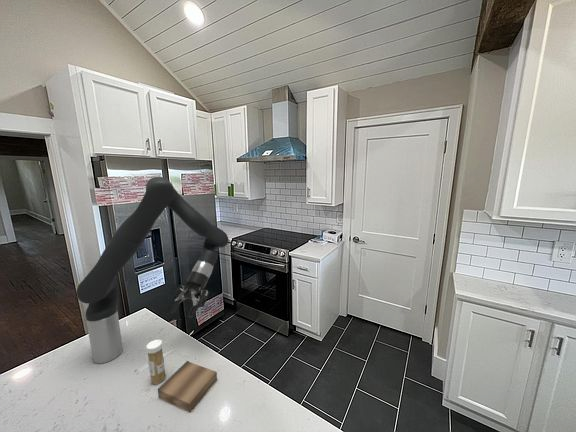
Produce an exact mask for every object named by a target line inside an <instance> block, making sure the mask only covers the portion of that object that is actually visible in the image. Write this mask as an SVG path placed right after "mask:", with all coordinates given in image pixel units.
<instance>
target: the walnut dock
mask: <svg viewBox="0 0 576 432" xmlns="http://www.w3.org/2000/svg"><path fill="white" fill-rule="evenodd" d="M217 374H218V373H217V371H215V370H213V369H210V368H207V367H204V366H202V365H199V364H196V363H194V362H192V361H191V362H190V361H189V360H186V361H185V362H184V363H183V364H182V365H181V366H180V367H178V368H177V370H176V371H174V373H172V375H171V376H169V377H168V378H167V380H165V381H164V382H163V383H162V384H161V385H160V386H159V387H158V388H157V394H158V399H161V400H162V401H165V402H166V403H169V404H171V405H173V406H176V407H178V408H180V409H182V410H184V411H186V412H188V413H192V411H193V410H194V409H195V408H196V406H197V405H198V404H199V403H200V401H201V400H202V399H203V398H204V396H205V395H206V394H207V393H208V392H209V390H210V389H211V388H212V386H213V385H214V384H215V383H216V381H218V375H217Z"/></svg>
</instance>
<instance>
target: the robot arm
mask: <svg viewBox="0 0 576 432" xmlns="http://www.w3.org/2000/svg"><path fill="white" fill-rule="evenodd" d="M167 208H169V209H170V210H171V211H172V212H173V213H175V214H176V215H177V216H178V217H179V219H181V220H182V222H184V223H185V225H186V226H187V227H188V228H190V230H192V232H195V234H196V235H198V236H199V237H203V238H205V239H204V241H203V245H202V250H201V254H200V255H199V257H198V259H197V260H196V263H195V265H194V266H193V268H192V270H191V271H190V274H189V275H188V278H187V279H186V285H182V284H178V286H177V288H176V290H175V291H174V293H173V295H172V296H171V299H172V300H173V301H174V302H173V304H172V306H171V308H170V313H173V314H176V313H177V311H178V309H179V307H180V306H181V304H180V303H182V302H184V301H185V300H187V299H188V300H191V302H192V306H191V308H190V310H189V312H188V313H187V314H188V315H187V317H188V318H191V319H193V318H194V317H195V315H196V313H197V311H198V309H199V308H204V306H205V304H206V302H207V299H208V296H209V294H210V292H209V291H208V290H207V289H205V288H206V286H207V283H208V281H209V279H210V277H211V275H212V273H213V270H214V268H215V267H214V266H215V265H216V262H217V260H218V257H219V256H218V254H217V253H218V252H216V249H217V248H218V249H219V248H224V247H226V246H227V245H228V243H229V236H228V234H227V233H226V232H225V231H224V230H223V229H221V228H219V227H217V226H216V225H214V224H212V223H211V222H210V221H209V220H208V219H207V218H205V216H203V214H201V213H200V212H199V211H197V209H195V208H194V207H193V206H191V204H189V203H188V202H187V201H186V200H185V199H184V198H183V197H182V196H181V195H180V194H179V192H178V191H177V190H176V188H175V187H174V185H173V183H172V182H171V181H170V180H169V179H167V178H165V177H162V176H155V177H152V178H150V179H149V180H148V181H147V182H146V186H145V193H144V194H143V197H142V199H141V201H140V202H139V204H138V205H137V208H136V209H135V210H134V211H133V212H132V213H131V214H130V215H129V216H128V217H127V218H126V219H125V220H124V221H123V222H122V223H121V225H119V227H117V230H116V231H115V233H114V234H113V235H112V237H111V239H110V241H109V242H108V244H107V245H106V247H105V248H104V249H103V251H102V254H100V256H99V259H98V261H97V262H96V264H95V265H94V267H92V268H91V270H90V271H89V273H88V274H87V275H86V276H85V277H84V278H83V279H82V281H80V283H79V284H78V286H77V288H76V297H77V299H78V300H79V301H80V302H81V303H84V304H88V306H87V308H86V310H85V320H86V326H87V332H88V339H89V344H90V349H91V350H90V351H91V356H92V361H93V363H95V364H100V365H101V364H105V363H108V362H111V361H113V360H115V359H116V358H118V357H119V356H120V355H121V354H122V352H123V351H124V347H123V341H122V340H123V339H122V334H121V325H120V319H119V313H118V303H119V296H118V294H119V293H118V283H117V279H116V276H117V274H119V272H120V271H121V270H122V269H123V267H124V266H125V265H126V264H127V263H128V262H129V261H130V260H131V259H132V257H134V256H135V254H136V253H137V252H138V250H139V249H140V248H141V246H142V245H143V243H144V241H145V240H146V238H147V237H148V235H149V233H150V232H151V230H152V228H153V227H154V226H155V225H154V224H155V223H156V221H157V220H158V219H159V218H160V215H162V213H163V212H164V211H165V209H167Z"/></svg>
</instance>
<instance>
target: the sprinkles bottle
mask: <svg viewBox="0 0 576 432" xmlns="http://www.w3.org/2000/svg"><path fill="white" fill-rule="evenodd" d="M146 352H147V358H148V359H147V360H148V369H149V374H150V383H151V384H153V385H157V384H160V383H162V382H163V381H164V380H165V378H167V377H166V376H167V375H166V370H165V369H166V368H165V359H164V353H163V341H162V340H161V339H154V340H152V341H150V342H149V343H147V344H146Z"/></svg>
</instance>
